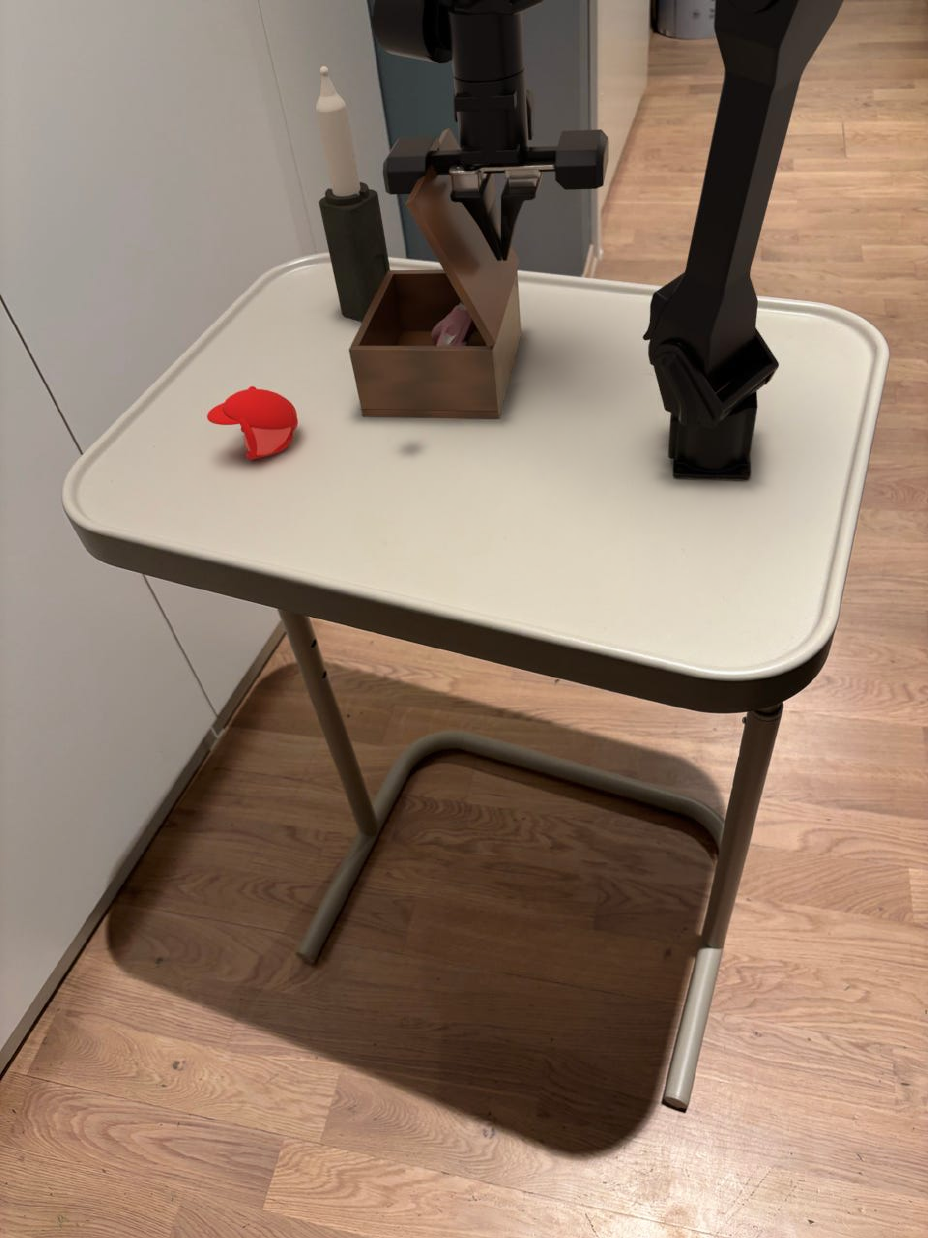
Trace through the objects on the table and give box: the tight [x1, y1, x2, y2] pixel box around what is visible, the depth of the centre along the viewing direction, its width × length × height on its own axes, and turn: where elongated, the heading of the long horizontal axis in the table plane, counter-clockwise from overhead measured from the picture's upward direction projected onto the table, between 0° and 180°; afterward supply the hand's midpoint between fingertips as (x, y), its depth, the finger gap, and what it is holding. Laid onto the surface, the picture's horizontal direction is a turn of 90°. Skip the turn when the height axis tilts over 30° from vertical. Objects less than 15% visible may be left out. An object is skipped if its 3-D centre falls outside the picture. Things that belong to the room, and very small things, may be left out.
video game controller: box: [431, 302, 476, 346], centre depth 93 cm, size 10×5×7 cm, turn 167°
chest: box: [348, 268, 523, 420], centre depth 93 cm, size 14×16×7 cm
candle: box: [315, 65, 391, 323], centre depth 98 cm, size 5×5×25 cm
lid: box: [405, 127, 521, 347], centre depth 85 cm, size 14×16×1 cm
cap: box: [206, 385, 299, 460], centre depth 88 cm, size 8×6×6 cm
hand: (502, 258), depth 86 cm, fingers closed
